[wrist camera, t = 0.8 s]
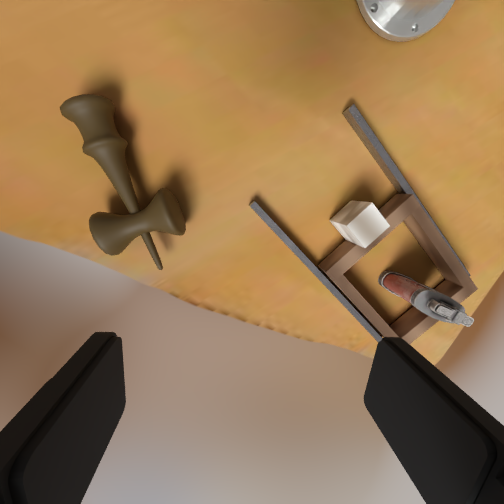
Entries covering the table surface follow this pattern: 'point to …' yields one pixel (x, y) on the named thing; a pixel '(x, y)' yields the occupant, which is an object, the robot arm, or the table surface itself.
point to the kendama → (120, 181)
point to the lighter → (425, 298)
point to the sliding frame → (370, 234)
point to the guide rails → (394, 177)
